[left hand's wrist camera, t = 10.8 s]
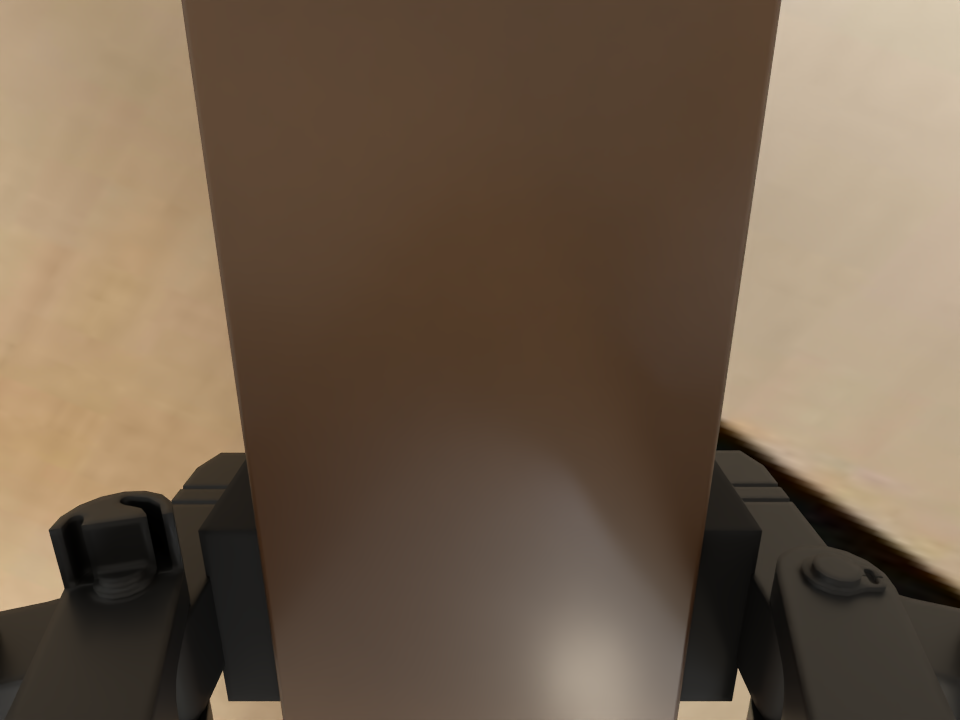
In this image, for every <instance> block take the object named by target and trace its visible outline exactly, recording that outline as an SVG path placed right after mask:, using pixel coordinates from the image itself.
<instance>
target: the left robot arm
mask: <svg viewBox="0 0 960 720" xmlns="http://www.w3.org/2000/svg"><path fill="white" fill-rule="evenodd" d="M49 533H50V536H51V540H52V544H53V547H54V551H55V555H56V558H57V562H58V566H59V569H60V573H61V577H62V580H63V584H64V588H65V589H64V591H63V593H62V596H61V598H60V599H56V600H52V601H49V602H44V603H39V604H35V605H30V606H25V607H20V608H15V609H11V610H6V611H1V612H0V720H213V715H212V709H211V704H210V697H211V695H212V693H213V691H214V688H215V686H216V684H217V682H218V680H219V678H220V675H221V673H222V671H223V673H224V678H225V684H226V690H227V695H228V701H280V694H279V687H278V679H277V672H276V665H275V658H274V651H273V644H272V637H271V630H270V623H269V616H268V609H267V602H266V595H265V588H264V580H263V573H262V566H261V559H260V552H259V545H258V538H257V531H256V524H255V517H254V510H253V503H252V496H251V488H250V481H249V474H248V467H247V460H246V453H220V454H218V455H217V456H215V457H214V458H212V459H211V460H209V461H207V462H206V463H204V464H203V465H201V466H200V467H198V468H197V469H196V470H195V471H194V473H193V474H192V475H191V477H190V478H189V479H188V480H187V482H186V483H185V484H184V485H183V489H180V491H179V492H178V493H177V494H176V496H175V497H174V498H173V500H172V502H171V501H170V500H168V499H167V498H166V497H165V496H163V495H162V494H157V493H153V492H148V491H132V492H121V493H117V494H112V495H107V496H103V497H100V498H97V499H94V500H92V501H89V502H87V503H84V504H82V505H79V506H77V507H76V508H74V509H73V510H71V511H69V512H68V513H66V514H65V515H63V516H61V517H60V518H59V519H58V520H57V521H56V523H55V524H54V525H53V526H52V527H51V528H50V529H49ZM738 669H739V671H740V673H741V675H742V678H743V680H744V682H745V684H746V686H747V688H748V691H749V693H750V695H751V699H750V704H749V709H748V714H747V720H960V609H959V608H954V607H950V606H945V605H940V604H935V603H930V602H925V601H920V600H916V599H912V598H908V597H904V596H900V595H899V594H898V592H897V590H896V588H895V587H894V585H893V584H892V583H891V581H890V580H889V579H888V577H887V576H886V575H885V573H883V572H882V571H880V570H879V569H878V568H876V567H875V566H874V565H872V564H871V563H869V562H868V561H866V560H864V559H862V558H860V557H857V556H855V555H853V554H851V553H849V552H846V551H843V550H839V549H835V548H831V547H827V545H826V544H825V543H824V542H823V540H822V539H821V538H820V537H819V535H818V534H817V533H816V531H815V530H814V529H813V528H812V526H811V525H810V524H809V523H808V521H807V520H806V519H805V518H804V516H803V515H802V514H801V512H800V511H799V510H798V509H797V507H796V506H795V505H794V504H793V502H789V497H788V496H787V495H786V493H785V492H784V491H783V490H782V488H781V487H778V483H777V482H776V481H775V480H774V478H773V477H772V476H771V475H770V473H769V472H768V471H767V469H766V468H765V467H764V466H763V465H761V464H760V463H758V462H757V461H755V460H754V459H752V458H750V457H749V456H747V455H746V454H744V453H742V452H741V451H716V454H715V461H714V468H713V475H712V482H711V489H710V496H709V502H708V509H707V516H706V523H705V530H704V537H703V544H702V551H701V558H700V565H699V571H698V578H697V585H696V592H695V599H694V606H693V613H692V620H691V627H690V634H689V640H688V647H687V654H686V661H685V668H684V675H683V682H682V689H681V696H680V701H732V698H733V692H734V686H735V681H736V675H737V670H738Z"/></svg>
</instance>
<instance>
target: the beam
mask: <svg viewBox="0 0 960 720" xmlns="http://www.w3.org/2000/svg"><path fill="white" fill-rule="evenodd" d="M780 6H781V0H182V8H183V15H184V22H185V29H186V36H187V43H188V50H189V57H190V64H191V71H192V78H193V85H194V92H195V100H196V107H197V114H198V121H199V128H200V135H201V142H202V149H203V156H204V163H205V170H206V177H207V184H208V191H209V199H210V206H211V213H212V220H213V227H214V234H215V241H216V248H217V255H218V262H219V269H220V276H221V283H222V290H223V298H224V305H225V312H226V319H227V326H228V333H229V340H230V347H231V354H232V361H233V368H234V375H235V382H236V389H237V397H238V404H239V411H240V418H241V425H242V432H243V439H244V446H245V453H246V460H247V467H248V474H249V481H250V488H251V496H252V503H253V510H254V517H255V524H256V531H257V538H258V545H259V552H260V559H261V566H262V573H263V580H264V588H265V595H266V602H267V609H268V616H269V623H270V630H271V637H272V644H273V651H274V658H275V665H276V672H277V679H278V687H279V694H280V701H281V708H282V715H283V720H677V716H678V709H679V703H680V696H681V689H682V682H683V675H684V668H685V661H686V654H687V647H688V640H689V634H690V627H691V620H692V613H693V606H694V599H695V592H696V585H697V578H698V571H699V565H700V558H701V551H702V544H703V537H704V530H705V523H706V516H707V509H708V502H709V496H710V489H711V482H712V475H713V468H714V461H715V454H716V447H717V440H718V433H719V427H720V420H721V413H722V406H723V399H724V392H725V385H726V378H727V371H728V364H729V357H730V351H731V344H732V337H733V330H734V323H735V316H736V309H737V302H738V295H739V288H740V282H741V275H742V268H743V261H744V254H745V247H746V240H747V233H748V226H749V219H750V213H751V206H752V199H753V192H754V185H755V178H756V171H757V164H758V157H759V150H760V144H761V137H762V130H763V123H764V116H765V109H766V102H767V95H768V88H769V81H770V75H771V68H772V61H773V54H774V47H775V40H776V33H777V26H778V19H779V12H780Z"/></svg>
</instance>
